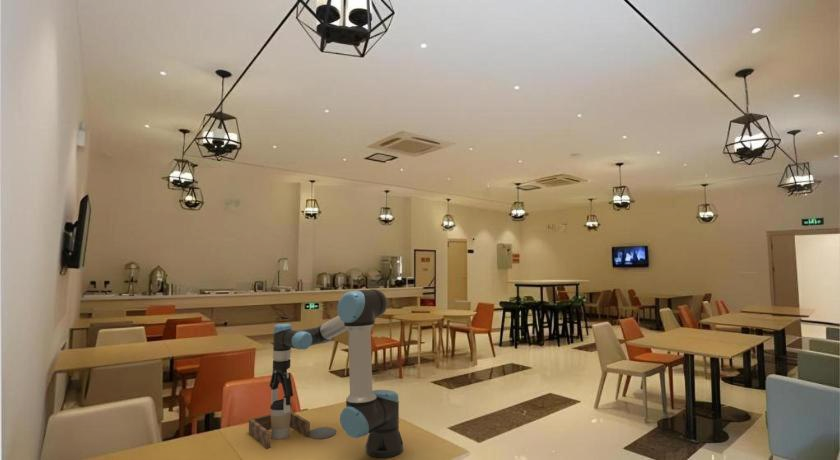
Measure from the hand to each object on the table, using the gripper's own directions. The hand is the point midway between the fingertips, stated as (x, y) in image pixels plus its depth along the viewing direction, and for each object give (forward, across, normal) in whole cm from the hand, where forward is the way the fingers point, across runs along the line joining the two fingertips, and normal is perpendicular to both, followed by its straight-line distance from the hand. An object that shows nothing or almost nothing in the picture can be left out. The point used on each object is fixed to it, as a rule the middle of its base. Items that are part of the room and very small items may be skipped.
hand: (280, 408), depth 189 cm
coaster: (+12, -10, -15) cm, 22 cm away
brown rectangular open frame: (+12, +1, 0) cm, 12 cm away
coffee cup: (+12, 0, 0) cm, 12 cm away
